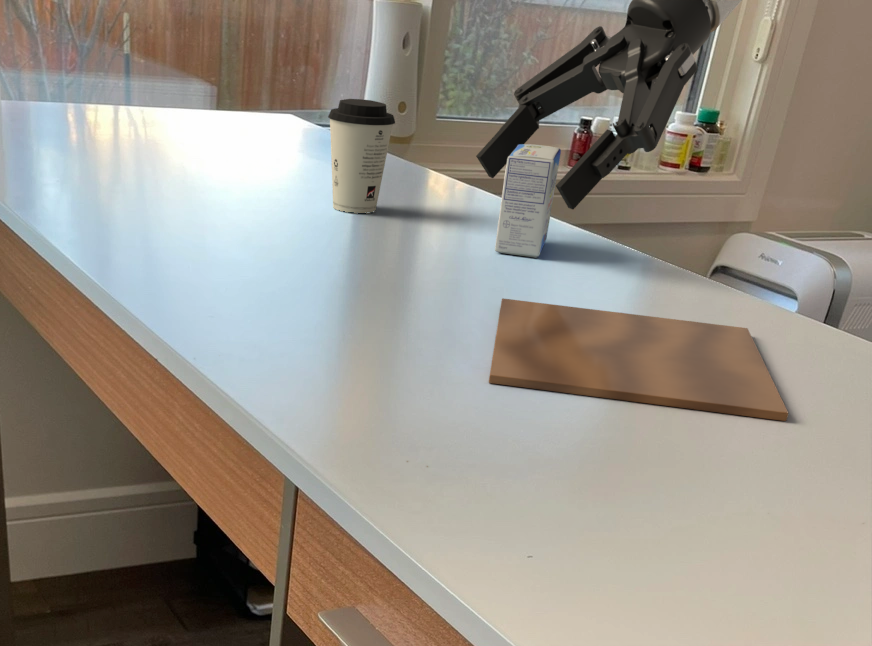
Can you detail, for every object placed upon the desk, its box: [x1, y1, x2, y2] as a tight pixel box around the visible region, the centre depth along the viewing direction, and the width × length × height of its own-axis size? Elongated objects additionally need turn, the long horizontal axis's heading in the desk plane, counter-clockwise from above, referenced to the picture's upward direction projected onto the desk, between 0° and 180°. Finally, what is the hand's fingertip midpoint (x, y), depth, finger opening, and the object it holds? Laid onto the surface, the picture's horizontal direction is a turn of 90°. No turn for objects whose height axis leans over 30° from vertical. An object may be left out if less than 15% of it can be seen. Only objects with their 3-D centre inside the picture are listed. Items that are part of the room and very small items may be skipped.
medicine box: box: [494, 143, 562, 259], centre depth 108 cm, size 8×4×9 cm, turn 166°
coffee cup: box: [327, 98, 396, 214], centre depth 116 cm, size 7×7×10 cm
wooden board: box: [488, 298, 789, 422], centre depth 83 cm, size 20×20×1 cm
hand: (522, 182), depth 106 cm, fingers open, 13 cm apart
